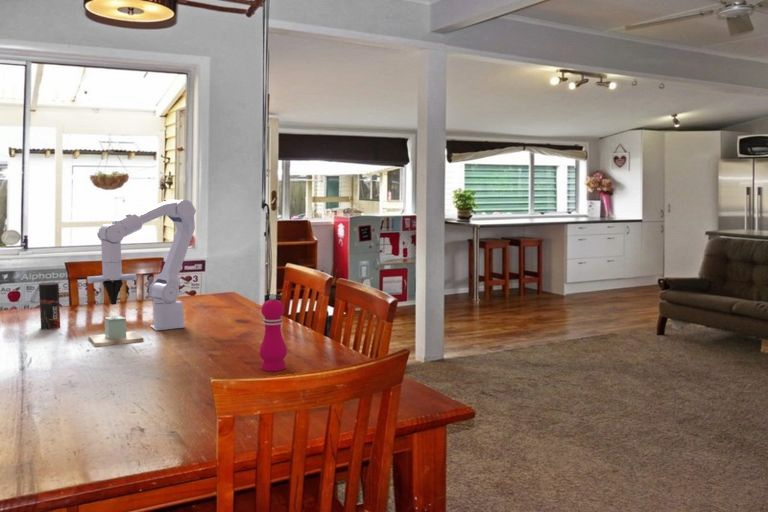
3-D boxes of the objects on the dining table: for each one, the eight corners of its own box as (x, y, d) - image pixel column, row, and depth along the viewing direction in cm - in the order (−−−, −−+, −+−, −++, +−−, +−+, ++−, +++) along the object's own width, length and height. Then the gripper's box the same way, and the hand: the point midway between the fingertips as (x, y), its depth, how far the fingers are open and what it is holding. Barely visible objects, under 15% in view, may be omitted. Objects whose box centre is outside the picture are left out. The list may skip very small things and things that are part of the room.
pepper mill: (272, 363, 186) (272, 291, 184) (292, 367, 182) (292, 293, 180) (253, 369, 180) (252, 294, 178) (273, 373, 176) (273, 297, 174)
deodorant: (52, 329, 228) (50, 285, 226) (36, 328, 229) (34, 284, 227) (64, 326, 233) (62, 282, 232) (48, 325, 235) (46, 282, 233)
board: (134, 334, 222) (134, 317, 221) (143, 341, 212) (142, 323, 211) (88, 338, 214) (87, 321, 214) (95, 346, 204) (94, 328, 204)
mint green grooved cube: (122, 334, 217) (121, 315, 216) (126, 337, 212) (125, 318, 212) (105, 336, 214) (104, 317, 213) (108, 339, 209) (108, 320, 209)
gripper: (132, 259, 224) (133, 300, 225) (84, 261, 216) (86, 304, 217) (137, 261, 218) (139, 303, 219) (89, 264, 210) (90, 307, 211)
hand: (113, 304), depth 218 cm, fingers closed
